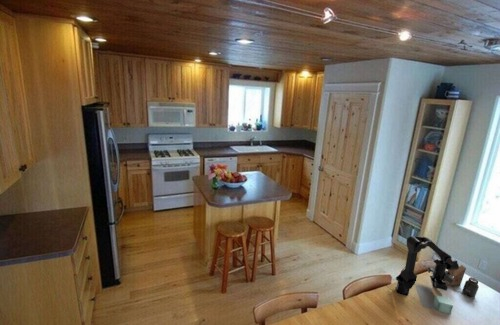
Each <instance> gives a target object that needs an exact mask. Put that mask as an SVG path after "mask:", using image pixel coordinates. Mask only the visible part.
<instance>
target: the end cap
mask: <svg viewBox="0 0 500 325" xmlns="http://www.w3.org/2000/svg"><path fill="white" fill-rule="evenodd" d="M442 296H443V295H442ZM442 296H438V295H436V297H435V300H434V305H435V308H436V310H435V311H438V312H441V313H442V312H443V313H446V314H450V315H452V310H453V307H454V304H453V302H452V300H451V299H450V298H449V297H445V296H443V297H442Z"/></svg>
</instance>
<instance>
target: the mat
mask: <svg viewBox="0 0 500 325" xmlns="http://www.w3.org/2000/svg"><path fill="white" fill-rule="evenodd" d="M413 286H414V287H415V289H416V292H417V295H418V298H419V300H420V302H421V306H422V307H424V308H428V309H430V310H434V311H437V310H436V308H435V305H434V300H435V298H434V296H433V294H432V292H431V290H432V287H431V288H430V287H427V286H425V285H420V284H416V283H415V284H414V285H413Z"/></svg>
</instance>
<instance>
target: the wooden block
mask: <svg viewBox="0 0 500 325" xmlns="http://www.w3.org/2000/svg"><path fill="white" fill-rule="evenodd" d="M466 270H467V267H466V266H464V265H463V264H461V265H460V266H459V269H458V270H447V271H448V272H450V275H451V276H452V277H453V279H454V281H453V282H452V283H449V282H447V281H446V280H445V281H443V282H444V283H445V284H446V285H447V286H461V285H462V281H463V278H464V276H465V274H466Z"/></svg>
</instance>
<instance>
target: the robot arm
mask: <svg viewBox="0 0 500 325" xmlns="http://www.w3.org/2000/svg"><path fill="white" fill-rule="evenodd" d="M406 247H407V256H406V261H405V267H404V269H402V270H401V273H400V274H398V275H397V276H395V280H396V281H397V283H396V286H395V292H396V293H397V294H398V295H402V296H405V297H408V296H409V293H410V291H411V290H410V289H413V287H414V286H415V285H414V284H416V282H417V279H418V275H417V274H416V273H415V267H416V262H417V258H418V253H420V252H421V251H422V250H425V249H426V248H427V247H428V248H429V249H430V250H431V251H433V252H434V255H435V257H437V258H438V259H437V258H436V259H435V260H433V263H434V264H435V265H434V266H433V267H427V273H431V275H429V278H430V283H431V286H432V287H436V288H438V289H439V290H442V291H448V285H446V284H445V283H444V282H443V281H445V280H446V281H447V282H449V283H452V282H453V281H454V279H453V277H454V276H453V277H452V276H451V275H450V272H448V270H458V269H459V267H460V266H459V264H458V263H459V262H458V260H457V259H455V258H452V256H451V255H450V254H449V253H448V252H446V251H445V250H443V249H441V248H440V247H439V246H438V245H436V243H435V242H434V241H432V239H431V238H429V237H427V236H416V235H415V236H413V235H412V236H409V237H408V238H406ZM432 287H431V288H432Z"/></svg>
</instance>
